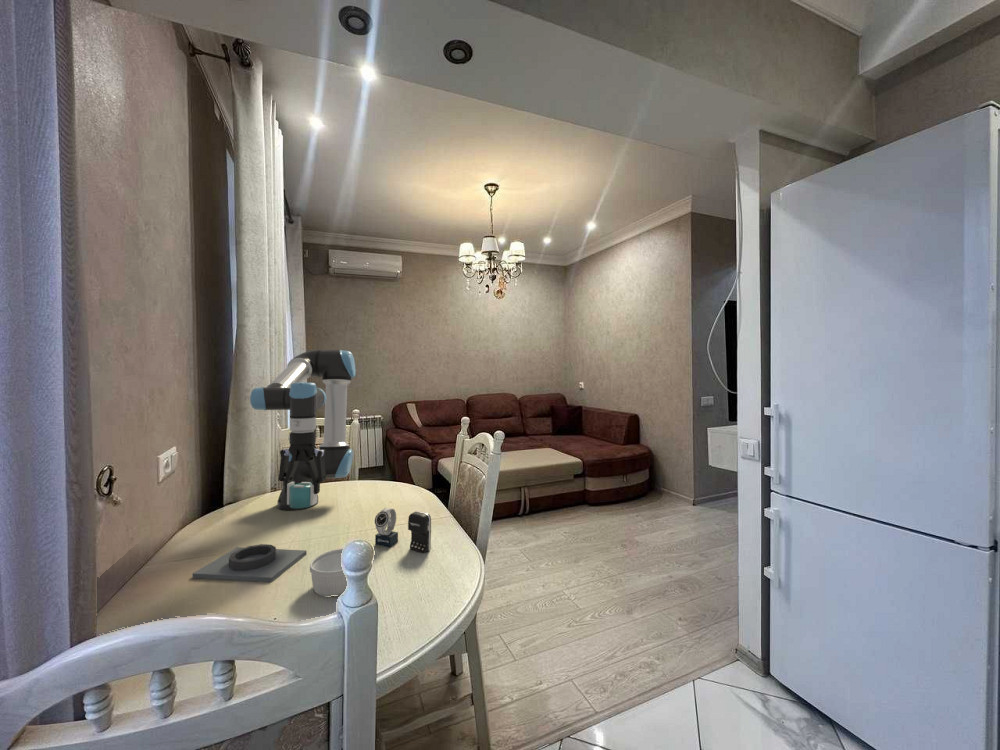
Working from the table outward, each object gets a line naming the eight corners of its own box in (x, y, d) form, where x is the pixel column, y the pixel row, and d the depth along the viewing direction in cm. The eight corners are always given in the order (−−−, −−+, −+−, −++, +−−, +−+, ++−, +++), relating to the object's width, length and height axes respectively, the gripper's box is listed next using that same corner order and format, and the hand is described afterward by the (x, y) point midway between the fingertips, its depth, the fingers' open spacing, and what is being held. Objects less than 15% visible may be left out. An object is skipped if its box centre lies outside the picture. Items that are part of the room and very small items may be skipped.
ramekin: (308, 605, 93) (308, 576, 93) (310, 579, 105) (310, 552, 105) (367, 593, 98) (367, 565, 98) (363, 569, 110) (363, 544, 110)
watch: (371, 547, 124) (371, 512, 124) (386, 537, 132) (386, 504, 132) (386, 549, 123) (387, 514, 123) (401, 539, 130) (401, 506, 130)
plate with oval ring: (237, 551, 121) (237, 539, 121) (306, 554, 119) (306, 542, 119) (192, 577, 105) (192, 564, 105) (271, 582, 103) (271, 568, 103)
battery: (406, 549, 123) (406, 513, 123) (414, 545, 126) (414, 509, 126) (423, 555, 119) (423, 517, 119) (431, 550, 123) (431, 513, 123)
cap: (298, 500, 129) (298, 480, 129) (318, 501, 129) (318, 481, 129) (284, 508, 122) (285, 486, 123) (306, 508, 122) (306, 487, 122)
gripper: (265, 432, 123) (264, 506, 123) (327, 433, 121) (326, 508, 121) (280, 428, 130) (279, 498, 130) (338, 430, 129) (338, 500, 129)
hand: (302, 503), depth 126 cm, fingers closed on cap, 7 cm apart
